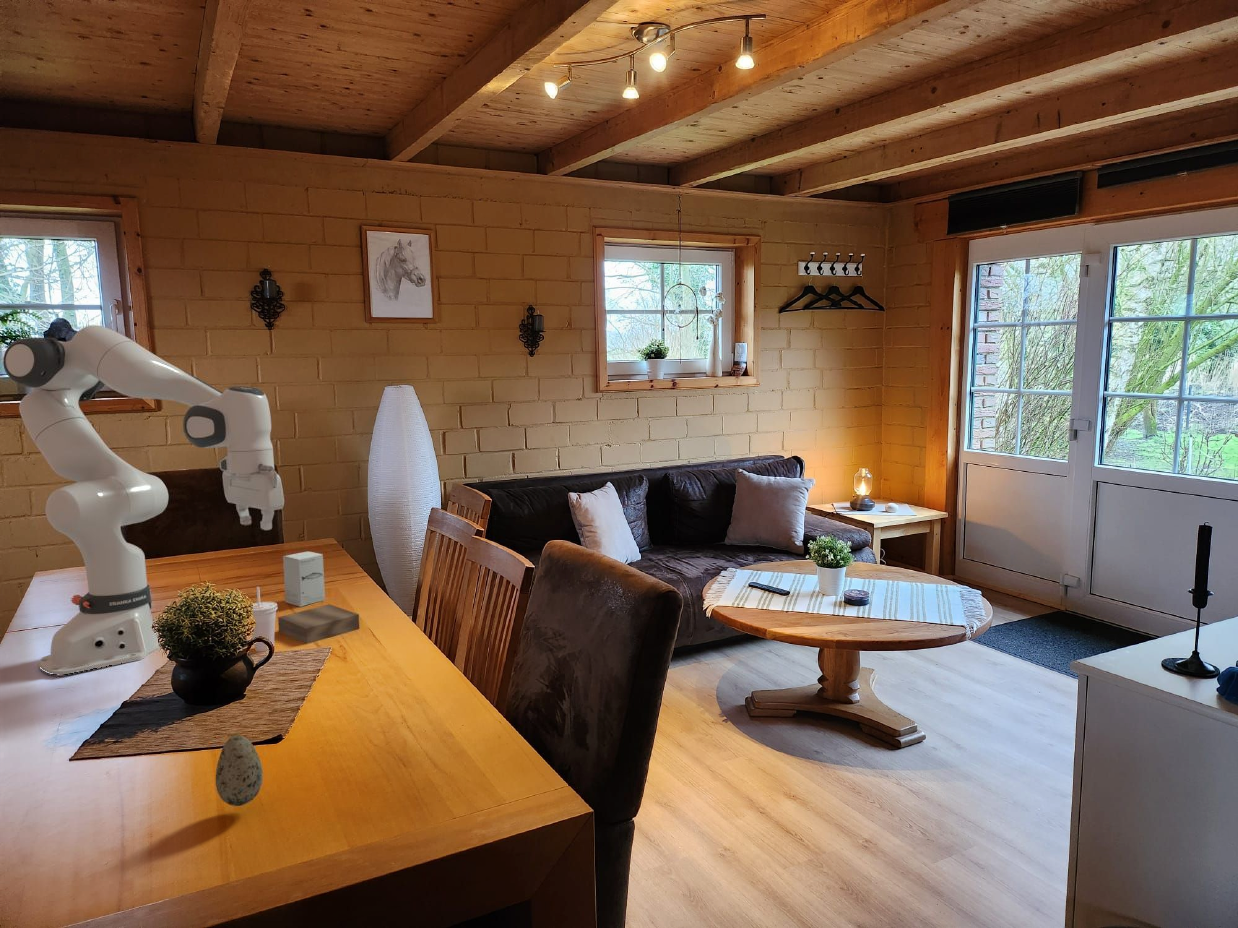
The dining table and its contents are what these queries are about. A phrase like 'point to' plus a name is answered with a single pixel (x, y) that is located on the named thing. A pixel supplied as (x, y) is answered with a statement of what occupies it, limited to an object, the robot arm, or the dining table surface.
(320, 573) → the supplement box
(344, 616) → the walnut block
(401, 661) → the dining table surface
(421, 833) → the dining table surface
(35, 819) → the dining table surface
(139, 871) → the dining table surface
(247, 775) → the decorative egg
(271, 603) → the smoothie
